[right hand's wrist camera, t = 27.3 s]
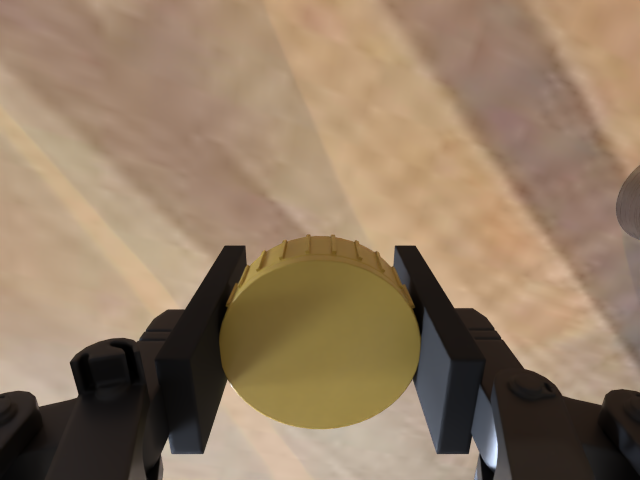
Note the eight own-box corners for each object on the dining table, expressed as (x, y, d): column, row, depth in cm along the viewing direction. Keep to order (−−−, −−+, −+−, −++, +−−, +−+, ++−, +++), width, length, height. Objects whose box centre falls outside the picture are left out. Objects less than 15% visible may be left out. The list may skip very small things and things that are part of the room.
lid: (266, 405, 14) (258, 449, 12) (200, 263, 12) (180, 292, 10) (426, 365, 13) (442, 406, 11) (384, 208, 11) (396, 229, 9)
